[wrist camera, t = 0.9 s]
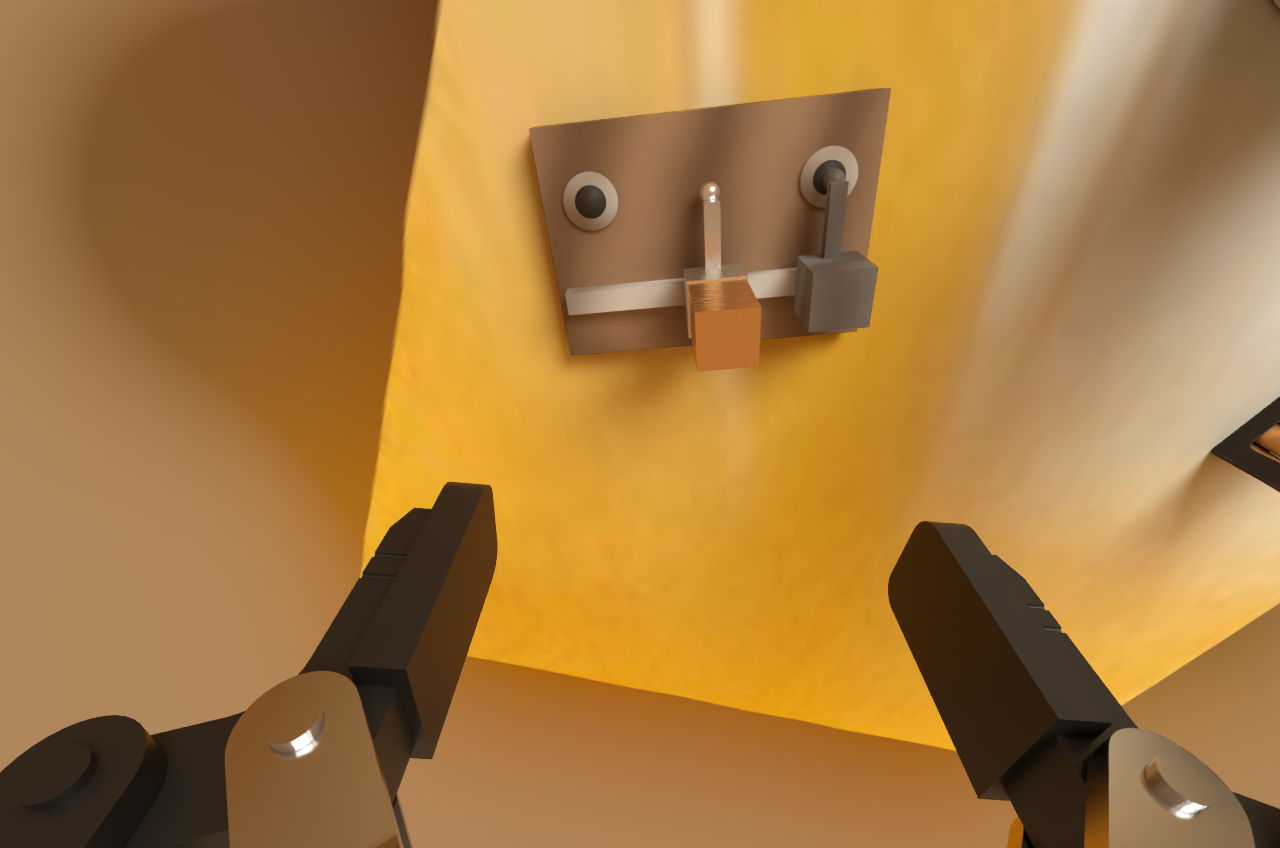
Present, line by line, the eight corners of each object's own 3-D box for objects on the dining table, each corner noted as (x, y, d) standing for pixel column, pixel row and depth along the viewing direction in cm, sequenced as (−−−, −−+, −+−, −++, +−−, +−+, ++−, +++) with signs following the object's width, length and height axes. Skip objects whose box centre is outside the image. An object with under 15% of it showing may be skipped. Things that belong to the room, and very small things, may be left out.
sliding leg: (739, 176, 25) (767, 202, 19) (738, 312, 29) (761, 368, 23) (678, 183, 25) (687, 210, 20) (685, 317, 29) (694, 373, 23)
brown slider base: (878, 88, 25) (931, 87, 20) (848, 321, 31) (883, 361, 27) (534, 127, 26) (510, 134, 21) (573, 345, 32) (561, 387, 28)
